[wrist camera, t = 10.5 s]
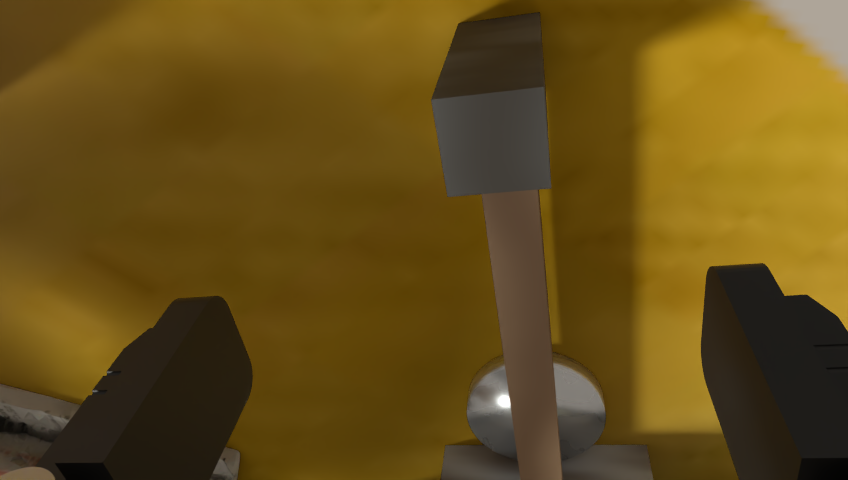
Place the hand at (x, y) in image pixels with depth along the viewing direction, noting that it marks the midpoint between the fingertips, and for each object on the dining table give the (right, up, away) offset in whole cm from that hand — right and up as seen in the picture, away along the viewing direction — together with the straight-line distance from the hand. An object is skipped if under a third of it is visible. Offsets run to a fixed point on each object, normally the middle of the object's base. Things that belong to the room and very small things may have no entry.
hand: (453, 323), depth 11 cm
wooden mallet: (+4, -1, +19) cm, 20 cm away
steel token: (+5, -7, +23) cm, 25 cm away
